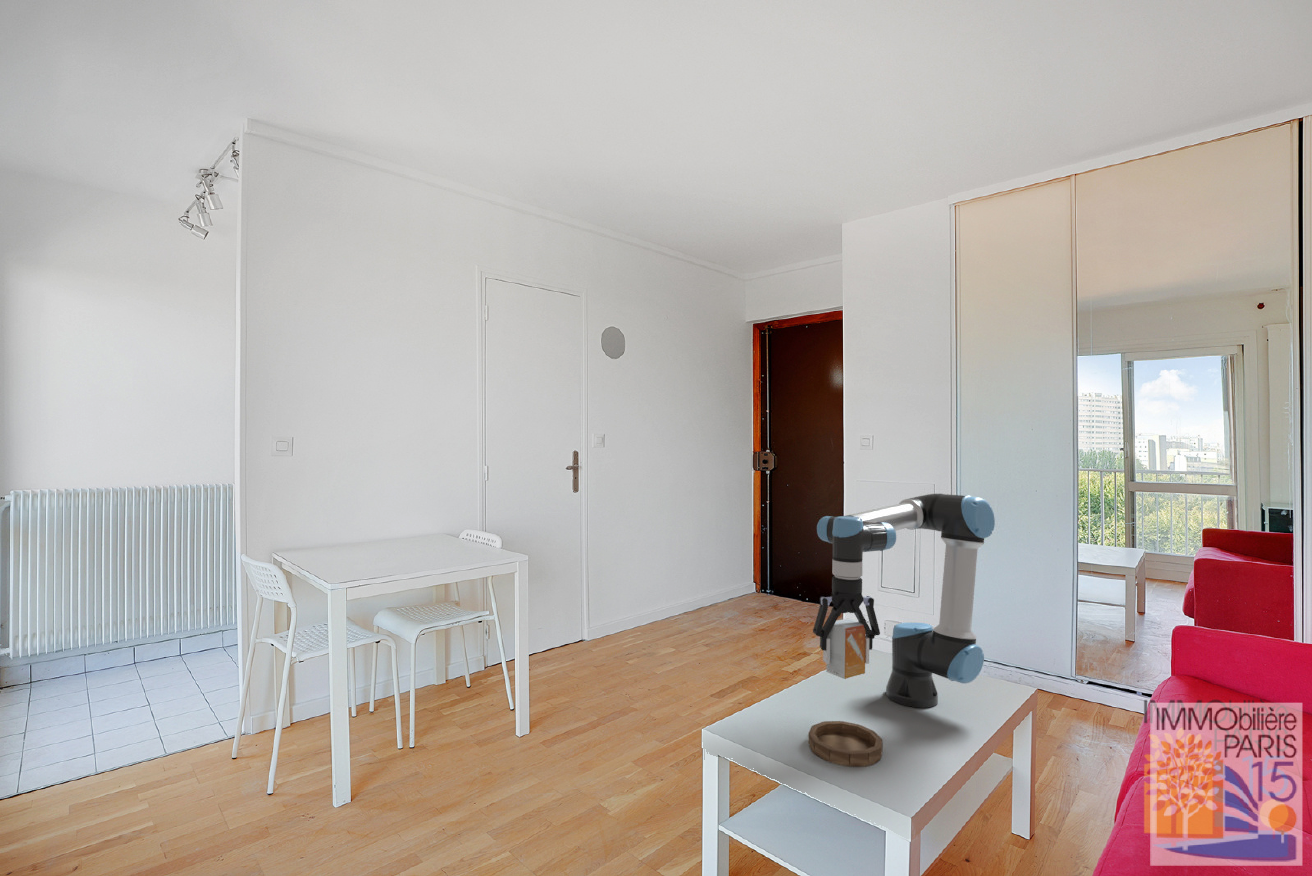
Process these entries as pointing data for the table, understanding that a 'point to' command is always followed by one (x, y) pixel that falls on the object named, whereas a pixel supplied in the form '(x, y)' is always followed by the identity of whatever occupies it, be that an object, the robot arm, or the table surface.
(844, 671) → the small box
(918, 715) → the table surface
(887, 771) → the table surface
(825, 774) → the table surface
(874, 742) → the walnut bowl
